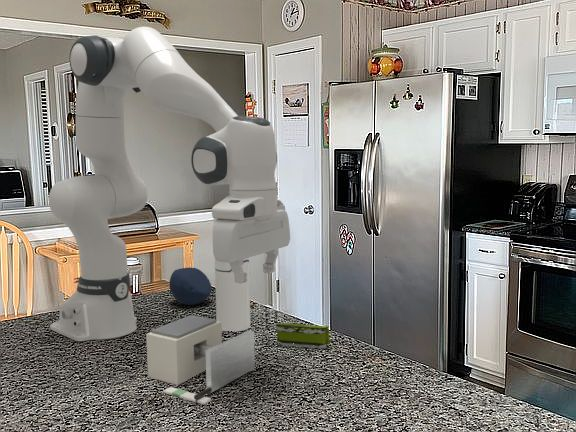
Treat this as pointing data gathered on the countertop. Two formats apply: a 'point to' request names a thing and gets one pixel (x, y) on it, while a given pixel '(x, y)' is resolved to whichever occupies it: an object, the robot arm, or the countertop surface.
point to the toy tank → (302, 335)
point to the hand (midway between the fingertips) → (255, 277)
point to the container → (232, 297)
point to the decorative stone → (189, 286)
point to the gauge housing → (181, 352)
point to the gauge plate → (226, 360)
